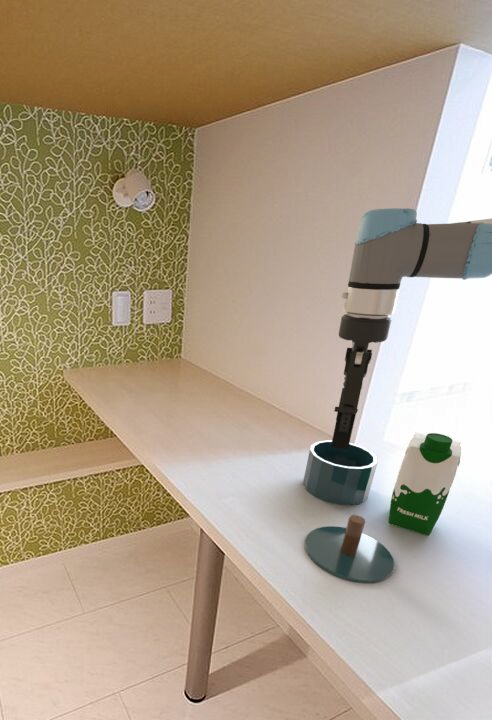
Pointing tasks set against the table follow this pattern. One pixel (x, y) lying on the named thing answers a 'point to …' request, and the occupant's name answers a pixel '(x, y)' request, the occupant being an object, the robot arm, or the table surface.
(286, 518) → the table surface
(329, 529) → the jar lid
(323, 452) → the jar
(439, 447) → the milk carton
